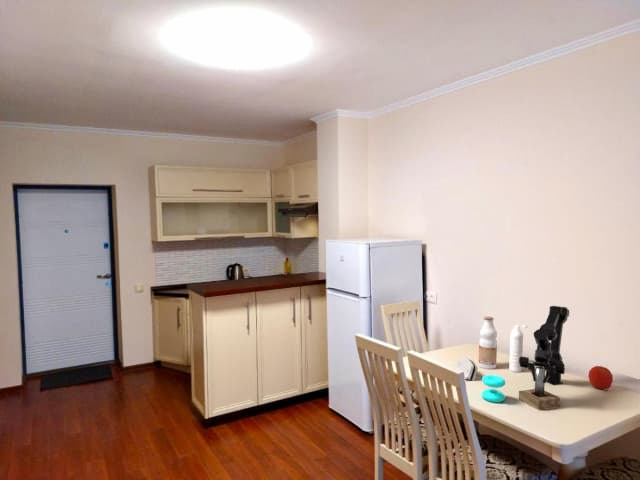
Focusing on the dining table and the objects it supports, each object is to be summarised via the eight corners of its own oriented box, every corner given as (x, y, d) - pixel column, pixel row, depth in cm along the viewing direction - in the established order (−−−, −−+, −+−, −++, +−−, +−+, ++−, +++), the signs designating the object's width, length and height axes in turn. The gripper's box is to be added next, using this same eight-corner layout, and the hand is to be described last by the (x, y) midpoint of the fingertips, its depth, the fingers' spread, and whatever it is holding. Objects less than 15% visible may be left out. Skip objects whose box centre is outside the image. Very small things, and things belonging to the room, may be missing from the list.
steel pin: (542, 394, 209) (543, 366, 208) (545, 398, 205) (546, 369, 205) (533, 394, 210) (534, 366, 209) (536, 397, 206) (537, 369, 205)
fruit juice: (484, 370, 252) (486, 319, 250) (475, 364, 261) (476, 315, 259) (499, 368, 254) (501, 319, 252) (489, 363, 263) (491, 315, 261)
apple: (614, 388, 227) (615, 365, 226) (609, 393, 219) (610, 370, 219) (590, 382, 233) (591, 360, 233) (585, 388, 226) (586, 365, 225)
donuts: (482, 373, 218) (505, 375, 214) (481, 393, 218) (504, 396, 215) (482, 380, 208) (505, 383, 205) (481, 401, 209) (505, 404, 206)
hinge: (452, 370, 251) (458, 353, 251) (460, 372, 252) (466, 355, 251) (464, 381, 235) (471, 362, 234) (473, 383, 235) (480, 365, 235)
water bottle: (511, 372, 248) (513, 326, 247) (507, 368, 255) (508, 324, 253) (528, 372, 248) (529, 327, 247) (523, 368, 254) (524, 324, 253)
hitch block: (539, 396, 215) (539, 388, 215) (560, 406, 204) (560, 398, 204) (518, 399, 212) (518, 390, 211) (538, 410, 200) (538, 401, 200)
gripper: (520, 339, 214) (515, 369, 206) (565, 345, 204) (562, 377, 196) (522, 351, 222) (517, 380, 213) (565, 358, 212) (562, 389, 203)
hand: (539, 381), depth 206 cm, fingers closed on steel pin, 4 cm apart
